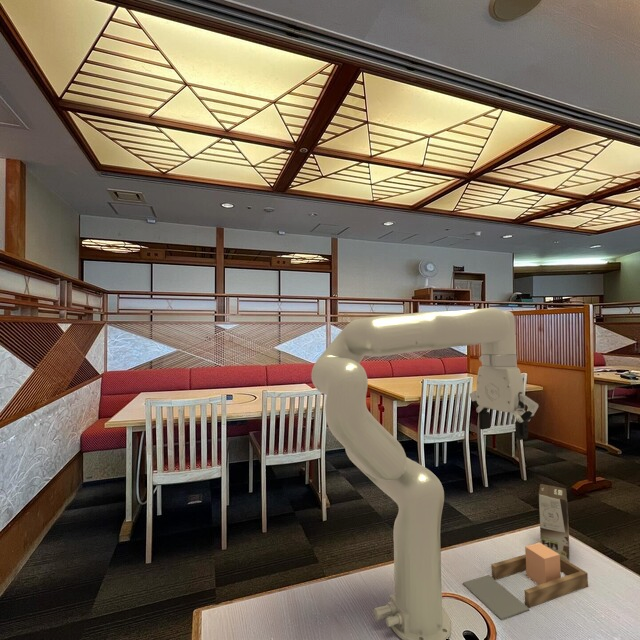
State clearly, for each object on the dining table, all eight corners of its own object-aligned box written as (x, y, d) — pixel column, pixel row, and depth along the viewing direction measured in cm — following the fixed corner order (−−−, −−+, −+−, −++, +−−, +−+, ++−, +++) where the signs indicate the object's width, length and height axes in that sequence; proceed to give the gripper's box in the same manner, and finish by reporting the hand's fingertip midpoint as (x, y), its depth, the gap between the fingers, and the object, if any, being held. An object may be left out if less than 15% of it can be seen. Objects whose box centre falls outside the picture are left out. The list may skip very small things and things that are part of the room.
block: (546, 590, 77) (544, 558, 78) (526, 575, 82) (525, 546, 82) (561, 584, 79) (559, 554, 79) (541, 571, 84) (539, 542, 84)
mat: (501, 620, 69) (501, 618, 69) (462, 583, 79) (462, 582, 79) (529, 610, 71) (529, 608, 71) (488, 576, 82) (488, 574, 82)
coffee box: (570, 564, 86) (566, 500, 87) (540, 554, 90) (537, 493, 91) (570, 547, 93) (567, 488, 94) (542, 538, 97) (540, 482, 98)
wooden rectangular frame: (529, 607, 72) (528, 593, 72) (491, 576, 81) (491, 564, 82) (588, 586, 78) (587, 573, 78) (547, 560, 88) (546, 548, 88)
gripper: (459, 360, 86) (462, 427, 85) (523, 364, 71) (527, 446, 70) (479, 359, 89) (482, 423, 88) (545, 363, 74) (549, 441, 73)
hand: (502, 433), depth 79 cm, fingers open, 9 cm apart
